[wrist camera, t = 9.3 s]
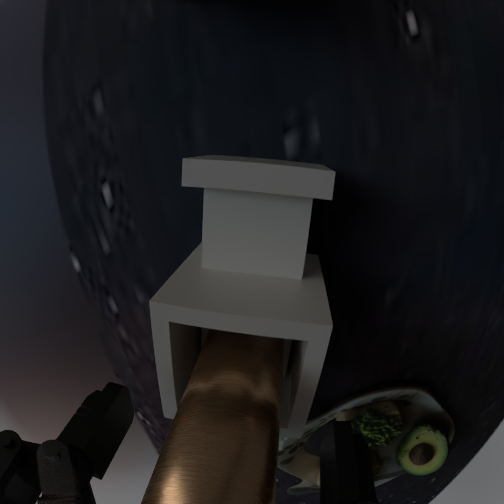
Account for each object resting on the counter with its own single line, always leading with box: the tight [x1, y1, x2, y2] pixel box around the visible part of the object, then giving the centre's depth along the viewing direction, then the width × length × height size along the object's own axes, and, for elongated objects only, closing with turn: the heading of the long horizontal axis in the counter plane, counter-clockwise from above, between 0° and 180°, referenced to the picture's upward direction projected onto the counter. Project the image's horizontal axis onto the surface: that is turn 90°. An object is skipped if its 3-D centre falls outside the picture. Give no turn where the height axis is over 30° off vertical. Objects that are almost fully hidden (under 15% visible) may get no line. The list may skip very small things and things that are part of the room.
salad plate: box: [277, 382, 455, 494], centre depth 23 cm, size 19×18×5 cm
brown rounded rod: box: [141, 329, 284, 504], centre depth 11 cm, size 4×4×12 cm
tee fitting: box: [149, 155, 335, 450], centre depth 16 cm, size 7×18×8 cm, turn 175°
